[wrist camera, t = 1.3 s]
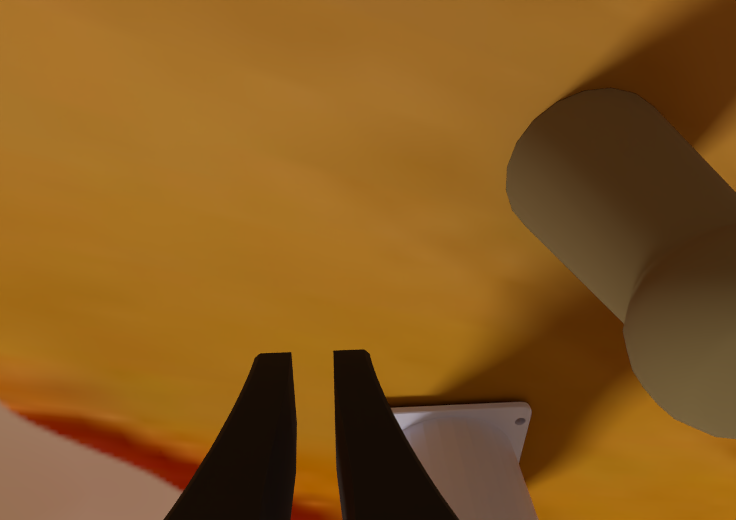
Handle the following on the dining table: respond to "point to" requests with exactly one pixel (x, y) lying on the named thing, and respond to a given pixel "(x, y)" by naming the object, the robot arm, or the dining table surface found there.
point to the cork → (640, 241)
